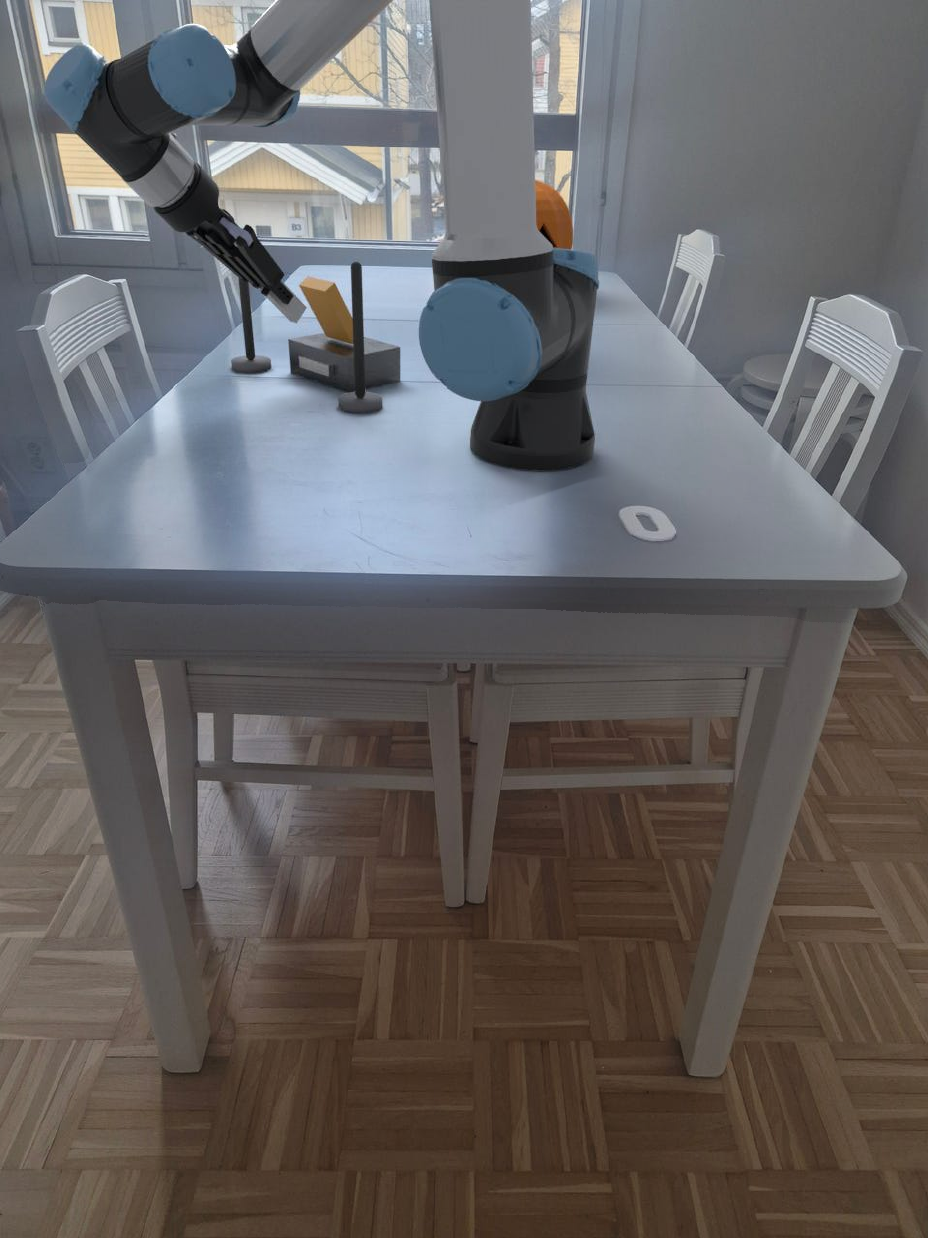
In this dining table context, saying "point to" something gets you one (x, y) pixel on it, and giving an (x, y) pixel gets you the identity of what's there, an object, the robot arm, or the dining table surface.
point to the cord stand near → (358, 355)
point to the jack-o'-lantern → (553, 217)
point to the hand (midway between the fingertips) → (298, 314)
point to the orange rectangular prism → (329, 308)
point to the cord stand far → (248, 339)
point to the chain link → (637, 529)
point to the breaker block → (343, 361)
